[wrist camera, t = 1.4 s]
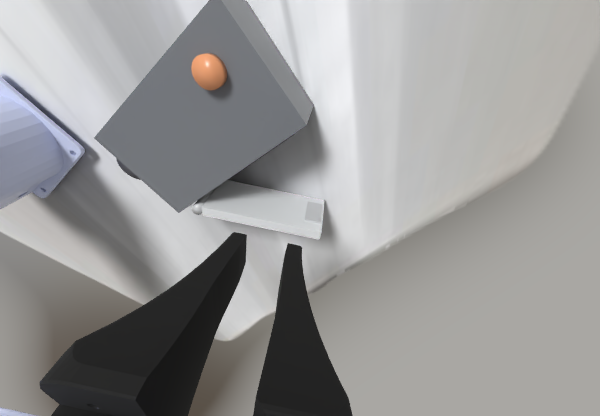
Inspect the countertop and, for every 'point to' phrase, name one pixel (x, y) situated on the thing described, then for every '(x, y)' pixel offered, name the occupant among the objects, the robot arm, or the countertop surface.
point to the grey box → (207, 107)
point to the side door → (263, 208)
